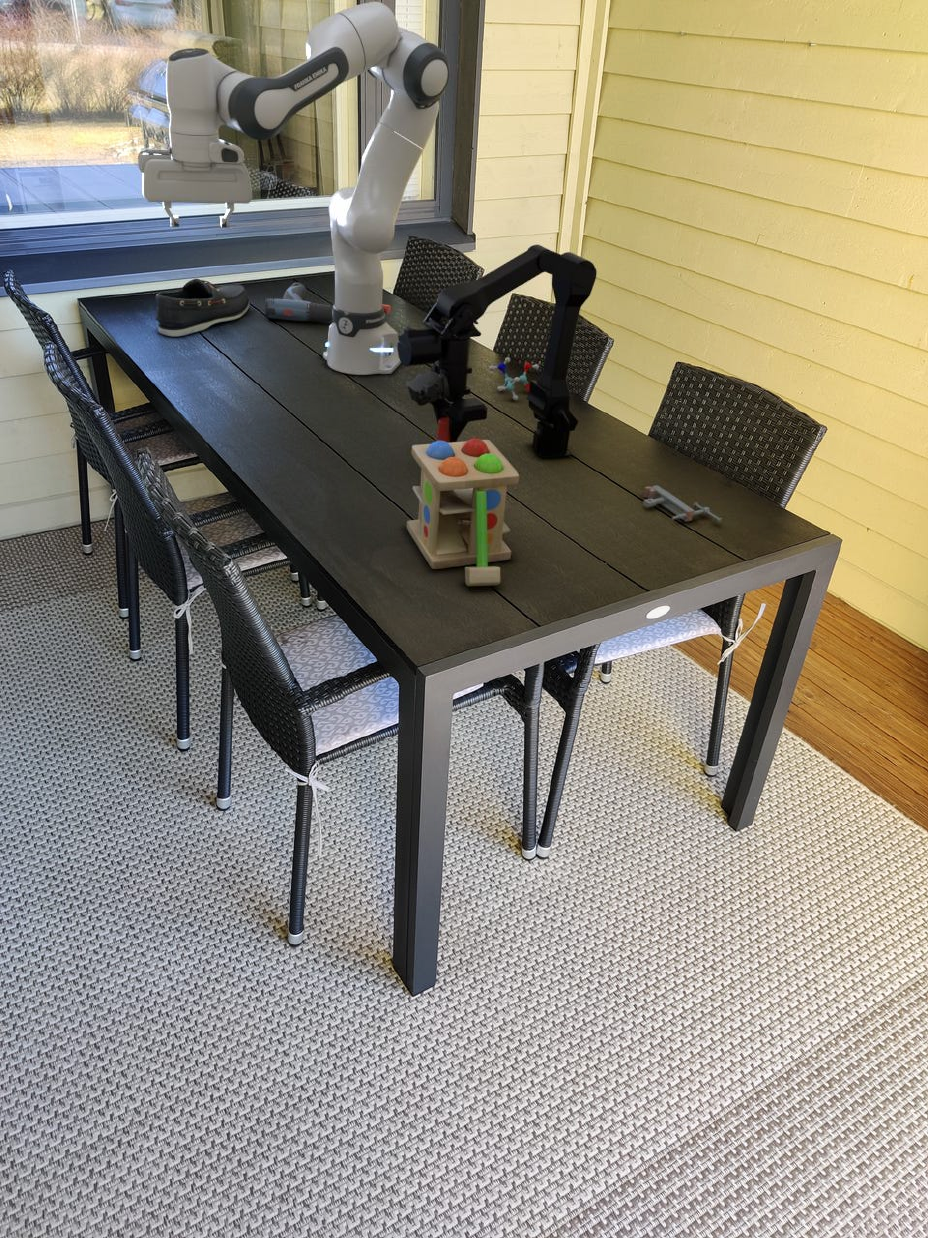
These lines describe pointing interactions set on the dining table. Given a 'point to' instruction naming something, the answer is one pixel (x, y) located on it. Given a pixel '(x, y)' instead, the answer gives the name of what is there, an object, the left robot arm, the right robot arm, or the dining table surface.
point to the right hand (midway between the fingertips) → (447, 437)
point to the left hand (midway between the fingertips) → (200, 226)
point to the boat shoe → (199, 307)
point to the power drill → (297, 306)
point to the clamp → (655, 498)
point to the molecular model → (509, 380)
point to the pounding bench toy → (463, 507)
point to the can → (443, 430)
